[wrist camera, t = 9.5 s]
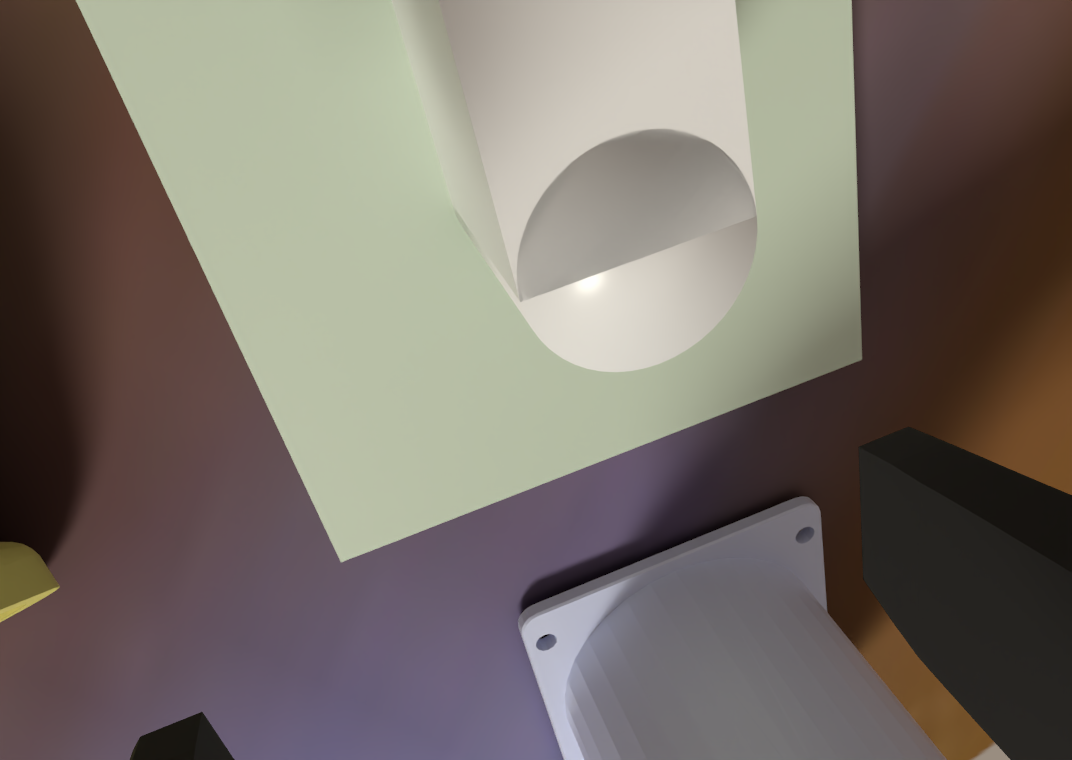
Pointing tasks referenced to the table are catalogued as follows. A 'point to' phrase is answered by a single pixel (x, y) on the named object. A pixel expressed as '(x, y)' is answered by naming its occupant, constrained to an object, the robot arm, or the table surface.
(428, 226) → the sage board
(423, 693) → the table surface
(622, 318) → the grey connector
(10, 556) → the plastic component
